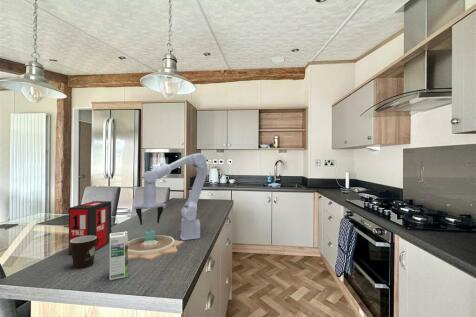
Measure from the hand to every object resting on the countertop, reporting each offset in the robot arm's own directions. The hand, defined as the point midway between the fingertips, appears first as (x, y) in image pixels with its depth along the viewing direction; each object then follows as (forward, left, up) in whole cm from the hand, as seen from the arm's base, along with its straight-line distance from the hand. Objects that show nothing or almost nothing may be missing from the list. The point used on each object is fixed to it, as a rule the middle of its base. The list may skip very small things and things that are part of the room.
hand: (149, 223), depth 116 cm
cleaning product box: (+25, -3, -10) cm, 27 cm away
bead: (0, 0, -9) cm, 9 cm away
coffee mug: (+23, +16, -10) cm, 30 cm away
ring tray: (0, +7, -9) cm, 12 cm away
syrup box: (+11, +31, -10) cm, 34 cm away
